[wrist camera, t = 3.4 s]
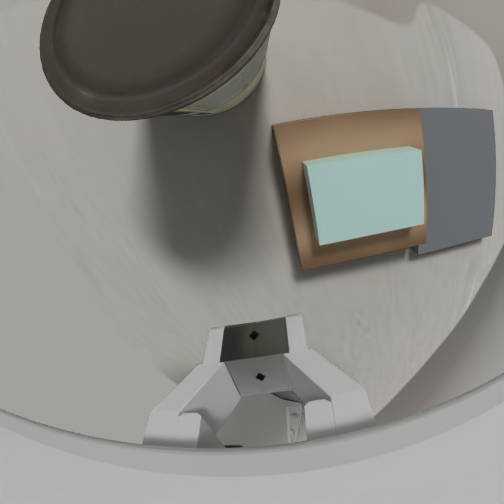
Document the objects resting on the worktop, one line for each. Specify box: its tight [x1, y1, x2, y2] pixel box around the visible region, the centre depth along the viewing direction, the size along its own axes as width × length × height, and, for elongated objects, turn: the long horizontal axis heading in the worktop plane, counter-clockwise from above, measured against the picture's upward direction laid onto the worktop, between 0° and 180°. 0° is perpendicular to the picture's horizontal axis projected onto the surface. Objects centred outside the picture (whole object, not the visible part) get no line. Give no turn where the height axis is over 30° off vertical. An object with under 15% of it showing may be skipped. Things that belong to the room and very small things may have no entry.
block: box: [302, 146, 424, 245], centre depth 20 cm, size 6×9×2 cm, turn 103°
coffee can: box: [40, 0, 280, 121], centre depth 13 cm, size 10×10×14 cm
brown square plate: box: [272, 109, 427, 270], centre depth 22 cm, size 12×12×3 cm
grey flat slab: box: [408, 108, 496, 255], centre depth 22 cm, size 14×11×2 cm
